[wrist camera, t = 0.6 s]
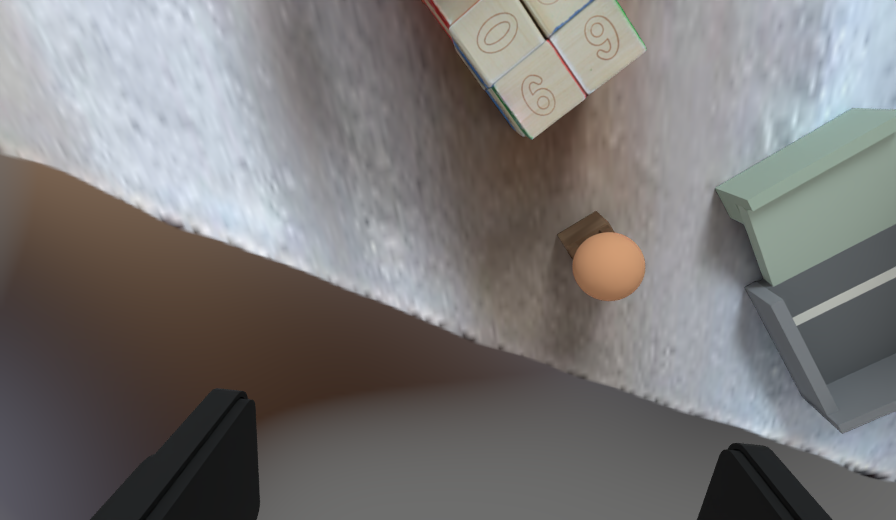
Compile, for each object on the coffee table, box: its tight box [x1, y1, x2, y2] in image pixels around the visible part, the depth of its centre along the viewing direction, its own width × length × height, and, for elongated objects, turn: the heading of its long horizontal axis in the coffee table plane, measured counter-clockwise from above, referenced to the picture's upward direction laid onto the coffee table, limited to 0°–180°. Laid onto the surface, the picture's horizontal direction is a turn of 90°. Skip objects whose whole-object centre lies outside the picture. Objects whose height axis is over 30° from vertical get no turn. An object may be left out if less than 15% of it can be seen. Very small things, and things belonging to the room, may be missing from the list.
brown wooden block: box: [557, 211, 615, 259], centre depth 30 cm, size 3×3×4 cm
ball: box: [573, 232, 645, 301], centre depth 27 cm, size 4×4×4 cm
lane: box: [745, 224, 896, 434], centre depth 31 cm, size 11×11×4 cm
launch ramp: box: [715, 108, 896, 287], centre depth 29 cm, size 9×8×4 cm
